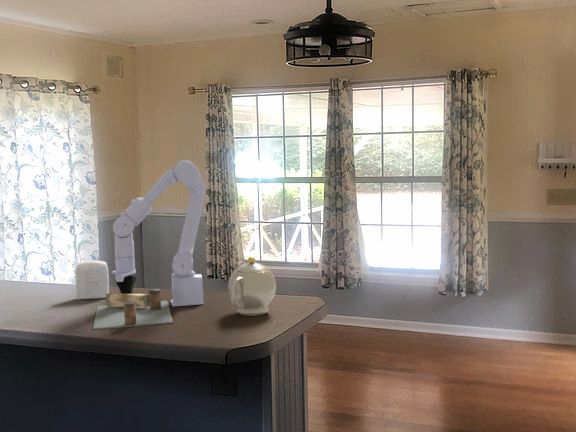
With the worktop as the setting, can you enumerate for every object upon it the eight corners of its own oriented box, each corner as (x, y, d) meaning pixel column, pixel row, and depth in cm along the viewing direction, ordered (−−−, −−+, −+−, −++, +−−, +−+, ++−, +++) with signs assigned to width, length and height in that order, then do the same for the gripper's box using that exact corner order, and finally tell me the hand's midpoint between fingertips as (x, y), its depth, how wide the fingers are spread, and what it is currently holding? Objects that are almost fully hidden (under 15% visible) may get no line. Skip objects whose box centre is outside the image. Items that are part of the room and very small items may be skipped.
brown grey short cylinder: (161, 308, 195) (160, 288, 195) (161, 310, 192) (160, 290, 191) (149, 309, 194) (148, 289, 194) (149, 311, 191) (148, 291, 190)
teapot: (247, 305, 197) (245, 251, 195) (286, 309, 190) (285, 253, 188) (212, 318, 181) (210, 260, 180) (253, 324, 174) (251, 263, 173)
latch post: (136, 323, 178) (135, 301, 178) (136, 326, 175) (135, 303, 175) (125, 324, 178) (123, 302, 177) (125, 327, 175) (123, 304, 174)
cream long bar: (149, 305, 194) (149, 293, 194) (147, 307, 192) (146, 295, 192) (109, 304, 197) (109, 293, 197) (106, 306, 195) (105, 294, 195)
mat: (167, 301, 204) (167, 300, 204) (172, 323, 178) (172, 321, 178) (97, 307, 199) (97, 305, 199) (92, 329, 173) (92, 328, 173)
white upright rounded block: (109, 295, 215) (107, 258, 214) (109, 298, 211) (107, 260, 210) (77, 297, 213) (75, 260, 212) (76, 300, 209) (74, 262, 207)
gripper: (118, 253, 204) (120, 295, 206) (104, 260, 190) (106, 306, 191) (140, 252, 204) (142, 295, 206) (128, 260, 190) (130, 306, 191)
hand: (127, 300), depth 198 cm, fingers closed
